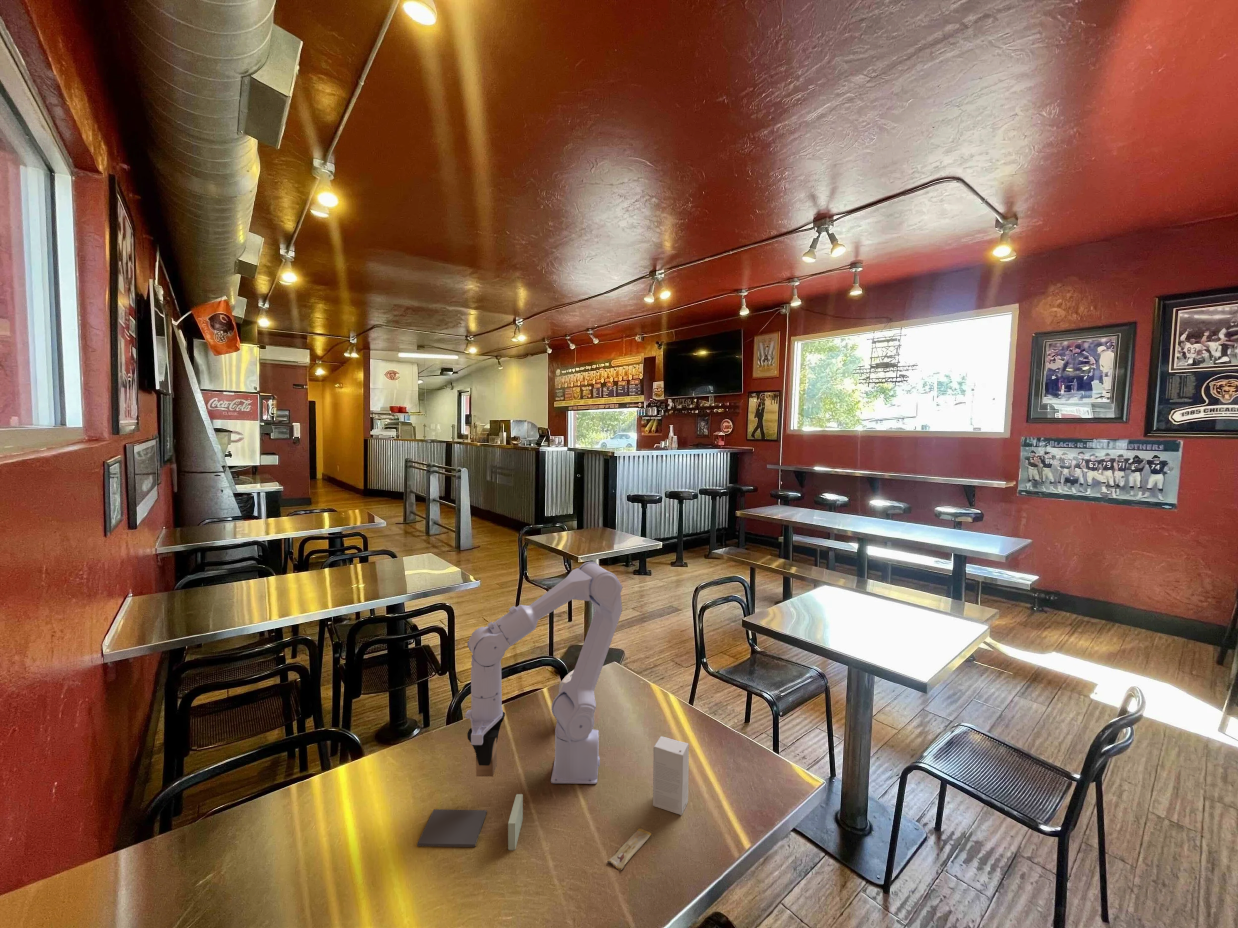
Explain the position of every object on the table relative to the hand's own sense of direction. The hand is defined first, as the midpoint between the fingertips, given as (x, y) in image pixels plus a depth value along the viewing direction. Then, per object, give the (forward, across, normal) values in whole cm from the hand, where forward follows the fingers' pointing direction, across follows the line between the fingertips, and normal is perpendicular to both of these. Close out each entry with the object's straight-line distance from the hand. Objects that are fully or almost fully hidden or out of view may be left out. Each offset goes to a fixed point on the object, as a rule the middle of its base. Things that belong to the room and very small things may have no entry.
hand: (487, 757), depth 101 cm
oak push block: (+3, 0, 0) cm, 3 cm away
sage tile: (+8, +9, +7) cm, 14 cm away
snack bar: (+9, +12, +28) cm, 32 cm away
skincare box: (+8, +1, +36) cm, 37 cm away
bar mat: (+8, +8, -4) cm, 12 cm away
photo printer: (+8, -28, +15) cm, 33 cm away
